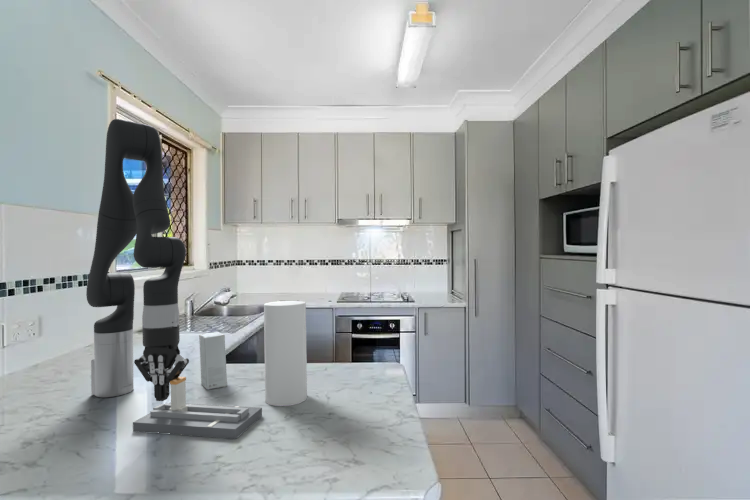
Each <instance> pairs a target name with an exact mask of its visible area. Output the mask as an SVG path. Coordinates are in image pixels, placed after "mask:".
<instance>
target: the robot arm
mask: <svg viewBox="0 0 750 500" xmlns="http://www.w3.org/2000/svg"><path fill="white" fill-rule="evenodd" d="M160 137H161V136H160V134H159V132H158V130H157V129H156V127H154V126H151V125H149V124H146V123H140V122H136V121H131V120H126V119H121V118H113V119H112V120H111V121H110V122H109V124H108V128H107V132H106V139H105V158H104V159H105V161H104V176H103V177H104V178H103V185H102V192H101V197H100V204H99V209H98V216H97V224H96V236H95V244H94V245H95V246H94V252H93V256H92V257H93V258H92V262H91V266H90V268H89V269H90V270H89V273H88V279H87V283H86V301H87V304H89V305H88V306H90V307H92V308H105V307H106V308H107V307H116V309H115V310H114V311H113V312H112V313H111V314H109V315H107V316H105V317H103V318H100V319H98V320H96V321H95V322H94V324H93V350H94V351H93V353H94V355H93V358H92V359H91V361H90V374H91V375H90V377H91V378H90V379H91V381H90V383H91V384H90V386H91V391H90V393H91V395H93V396H94V397H96V398H112V397H118V396H123V395H126V394H128V393H130V392H133V391H134V389H135V387H134V365H135V366H136V368H137V369H138V371H139V373H141V375H142V377H143V378H144V379H145V381H146V382H148V383H149V382H151V383H152V384H153V386H154V387H153V388H154V389H153V391H154V395H153V396H154V398H155V401H156V402H164V401H167V399H168V398H169V397H170V395H171V391H170V381H172V380H174V379H176V378H178V377H181V376H180V375H181V374H182V373H183V372H184V370H185V368H186V367H187V365H188V364H189V362H190V360H189V358H186V357H185V358H184V357H183V356H182V355H181V350H180V348H179V343H180V339H181V338H180V337H181V335H180V309H179V292H178V291H179V289H178V287H179V281H180V277H181V274H182V269H183V267H184V263H185V259H186V255H187V252H186V251H187V249H186V246H185V243H184V241H182V240H181V238H179V237H176V236H153V235H156V234H159V233H163V232H165V231H167V230H168V229H169V228H170V226H171V218H170V215H169V214H170V213H169V210H168V205H167V201H166V197H165V196H166V195H165V188H164V174H163V173H164V172H163V171H164V169H163V156H162V155H163V154H162V143H161V138H160ZM124 159H128V160H134V161H141V162H144V163H145V165H146V170H145V172H144V175H143V177H141V179H140V182H139V183H137V185H136V188H135V189H134V192H133V191H132V190H131V188H130V186H129V183H128V182H127V179H126V177H125V173H124ZM134 239H135V243H134V246H133V247H134V248H133V257H134V261H135V262H136V264H137V265H138V266H140V267H141V268H144V269H155V268H165V269H164V271H163V272H162V274H161V275H159V276H157V277H152V278H148V279H146V280H145V281H144V283H143V287H142V288H143V306H142V307H143V308H142V315H141V316H142V317H141V318H142V323H141V325H142V345H143V347H144V349H143V351H142V355H141V356H140V357H139V358H135V359H134V319H135V317H134V316H135V309H134V308H135V295H136V294H135V292H136V291H135V290H136V289H135V286H136V285H135V281H134V280H135V279H134V277H133V275H132V274H131V273H130V272H109V271H110V268H111V266H112V264H113V262H114V261H115V259H116V258H117V257H118V256H119V255H120V253H122V252H123V250H125V249H126V247H128V245H129V244H130V243H131V242H133V240H134Z"/></svg>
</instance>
